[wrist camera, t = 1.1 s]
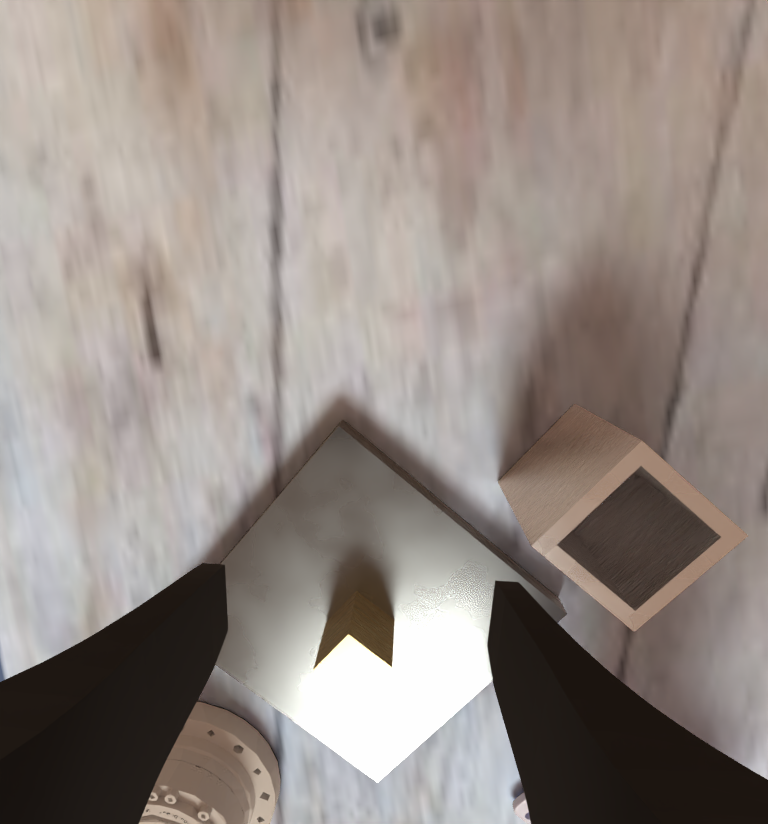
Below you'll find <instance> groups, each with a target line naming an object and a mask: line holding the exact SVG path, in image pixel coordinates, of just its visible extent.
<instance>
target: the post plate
mask: <svg viewBox="0 0 768 824" xmlns="http://www.w3.org/2000/svg"><path fill="white" fill-rule="evenodd" d="M220 564H222V565H225V574H226V594H227V614H228V632H227V634H226V637H225V640H224V643H223V646H222V648H221V651H220V654H219V656H218V659H217V661H216V664H215V665H217V666H218V667H220V668H221V669H222V670H224V671H225V672H226V673H228V674H229V675H231V676H232V677H233V678H235V679H236V680H237V681H239V682H240V683H241V684H243V685H244V686H246V687H247V688H248V689H250V690H251V691H252V692H254V693H255V694H257V695H258V696H259V697H261V698H262V699H263V700H265V701H266V702H268V703H269V704H270V705H272V706H273V707H274V708H276V709H277V710H279V711H280V712H281V713H283V714H284V715H285V716H287V717H288V718H289V719H291V720H292V721H294V722H295V723H296V724H298V725H299V726H300V727H302V728H303V729H305V730H306V731H307V732H309V733H310V734H311V735H313V736H314V737H316V738H317V739H318V740H320V741H321V742H322V743H324V744H325V745H327V746H328V747H329V748H331V749H332V750H333V751H335V752H336V753H338V754H339V755H340V756H342V757H343V758H344V759H346V760H347V761H348V762H350V763H351V764H353V765H354V766H355V767H357V768H358V769H359V770H361V771H362V772H364V773H365V774H366V775H368V776H369V777H370V778H372V779H373V780H375V781H376V782H377V783H378V782H379V781H380V780H381V779H382V778H383V777H385V776H386V775H387V774H388V773H389V772H390V771H391V770H392V769H394V768H395V767H396V766H397V765H398V764H399V763H400V762H401V761H402V760H404V759H405V758H406V757H407V756H408V755H409V754H410V753H411V752H413V751H414V750H415V749H416V748H417V747H418V746H419V745H420V744H422V743H423V742H424V741H425V740H426V739H427V738H428V737H429V736H431V735H432V734H433V733H434V732H435V731H436V730H437V729H438V728H440V727H441V726H442V725H443V724H444V723H445V722H446V721H447V720H449V719H450V718H451V717H452V716H453V715H454V714H455V713H456V712H458V711H459V710H460V709H461V708H462V707H463V706H464V705H465V704H466V703H468V702H469V701H470V700H471V699H472V698H473V697H474V696H475V695H477V694H478V693H479V692H480V691H481V690H482V689H483V688H484V687H486V686H487V685H488V684H489V683H490V682H491V681H492V680H493V678H492V673H491V667H490V661H489V654H488V648H487V642H488V634H489V626H490V618H491V610H492V602H493V595H494V587H495V581H511V582H519V583H520V584H521V585H522V586H523V587H524V588H525V589H526V590H527V591H528V592H529V593H530V595H531V596H532V597H533V598H534V599H535V600H536V601H537V602H538V603H539V604H540V605H541V606H542V607H543V608H544V610H545V611H546V612H547V613H548V614H549V615H550V616H551V617H552V618H553V619H554V620H555V621H556V622H559V621H560V620H561V619H562V618H563V617H564V616H565V615H566V614H567V613H566V611H565V609H564V607H563V605H562V603H561V601H560V599H559V598H558V597H557V596H556V595H554V594H553V593H552V592H551V591H550V590H548V589H547V588H546V587H545V586H544V585H542V584H541V583H540V582H539V581H537V580H536V579H535V578H534V577H533V576H531V575H530V574H529V573H528V572H527V571H525V570H524V569H523V568H522V567H521V566H519V565H518V564H517V563H516V562H514V561H513V560H512V559H511V558H510V557H508V556H507V555H506V554H505V553H504V552H502V551H501V550H500V549H499V548H497V547H496V546H495V545H494V544H493V543H491V542H490V541H489V540H488V539H487V538H485V537H484V536H483V535H482V534H481V533H479V532H478V531H477V530H476V529H474V528H473V527H472V526H471V525H470V524H468V523H467V522H466V521H465V520H464V519H462V518H461V517H460V516H459V515H458V514H456V513H455V512H454V511H453V510H451V509H450V508H449V507H448V506H447V505H445V504H444V503H443V502H442V501H441V500H439V499H438V498H437V497H436V496H435V495H433V494H432V493H431V492H430V491H428V490H427V489H426V488H425V487H424V486H422V485H421V484H420V483H419V482H418V481H416V480H415V479H414V478H413V477H412V476H410V475H409V474H408V473H407V472H405V471H404V470H403V469H402V468H401V467H399V466H398V465H397V464H396V463H395V462H393V461H392V460H391V459H390V458H388V457H387V456H386V455H385V454H384V453H382V452H381V451H380V450H379V449H378V448H376V447H375V446H374V445H373V444H372V443H370V442H369V441H368V440H367V439H365V438H364V437H363V436H362V435H361V434H359V433H358V432H357V431H356V430H355V429H353V428H352V427H351V426H350V425H349V424H347V423H346V422H345V421H344V420H342V421H341V422H340V423H339V425H338V426H337V427H336V428H335V429H334V430H333V432H332V433H331V434H330V435H329V436H328V437H327V439H326V440H325V441H324V442H323V443H322V445H321V446H320V447H319V448H318V449H317V450H316V452H315V453H314V454H313V455H312V456H311V457H310V459H309V460H308V461H307V462H306V463H305V464H304V466H303V467H302V468H301V469H300V470H299V472H298V473H297V474H296V475H295V476H294V477H293V479H292V480H291V481H290V482H289V483H288V484H287V486H286V487H285V488H284V489H283V490H282V491H281V493H280V494H279V495H278V496H277V497H276V499H275V500H274V501H273V502H272V503H271V504H270V506H269V507H268V508H267V509H266V510H265V511H264V513H263V514H262V515H261V516H260V517H259V518H258V520H257V521H256V522H255V523H254V524H253V526H252V527H251V528H250V529H249V530H248V531H247V533H246V534H245V535H244V536H243V537H242V538H241V540H240V541H239V542H238V543H237V544H236V545H235V547H234V548H233V549H232V550H231V551H230V553H229V554H228V555H227V556H226V557H225V558H224V560H223V561H222V562H221V563H220Z"/></svg>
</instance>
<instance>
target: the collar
mask: <svg viewBox="0 0 768 824" xmlns="http://www.w3.org/2000/svg"><path fill="white" fill-rule="evenodd" d="M632 474H633V475H632ZM631 475H632V476H631ZM629 476H631V477H630V478H628V477H629ZM627 478H628V479H627ZM626 479H627V480H626ZM625 480H626V481H625ZM624 481H625V482H624ZM623 482H624V483H623ZM498 483H499V485H500V487H501V489H502V491H503V493H504V495H505V497H506V499H507V501H508V502H509V504H510V506H511V508H512V510H513V512H514V514H515V516H516V518H517V520H518V522H519V523H520V525H521V527H522V529H523V531H524V533H525V535H526V537H527V539H528V541H529V543H530V545H531V546H532V547H533V548H534V549H535V550H537V551H538V552H539V553H540V554H541V555H543V556H544V557H545V558H546V559H547V560H549V561H550V562H551V563H552V564H553V565H555V566H556V567H557V568H558V569H559V570H561V571H562V572H563V573H564V574H565V575H567V576H568V577H569V578H570V579H571V580H573V581H574V582H575V583H576V584H577V585H579V586H580V587H581V588H582V589H583V590H585V591H586V592H587V593H588V594H589V595H590V596H592V597H593V598H594V599H595V600H596V601H598V602H599V603H600V604H601V605H602V606H604V607H605V608H606V609H607V610H608V611H610V612H611V613H612V614H613V615H614V616H616V617H617V618H618V619H619V620H620V621H622V622H623V623H624V624H625V625H626V626H628V627H629V628H630V629H631V630H632V631H634V632H635V631H636V630H637V629H639V628H640V627H641V626H642V625H643V624H644V623H646V622H647V621H648V620H649V619H650V618H652V617H653V616H654V615H655V614H656V613H658V612H659V611H660V610H661V609H662V608H663V607H665V606H666V605H667V604H668V603H669V602H671V601H672V600H673V599H674V598H675V597H676V596H678V595H679V594H680V593H681V592H682V591H684V590H685V589H686V588H687V587H688V586H689V585H691V584H692V583H693V582H694V581H695V580H697V579H698V578H699V577H700V576H701V575H703V574H704V573H705V572H706V571H707V570H708V569H710V568H711V567H712V566H713V565H714V564H716V563H717V562H718V561H719V560H720V559H721V558H723V557H724V556H725V555H726V554H727V553H729V552H730V551H731V550H732V549H733V548H735V547H736V546H737V545H738V544H739V543H740V542H742V541H743V540H744V539H745V538H746V537H748V535H747V534H746V533H745V532H743V531H742V530H741V529H740V528H739V527H738V526H737V525H736V524H735V523H733V522H732V521H731V520H730V519H729V518H728V517H727V516H726V515H724V514H723V513H722V512H721V511H720V510H719V509H718V508H717V507H716V506H714V505H713V504H712V503H711V502H710V501H709V500H708V499H707V498H706V497H704V496H703V495H702V494H701V493H700V492H699V491H698V490H697V489H695V488H694V487H693V486H692V485H691V484H690V483H689V482H688V481H687V480H685V479H684V478H683V477H682V476H681V475H680V474H679V473H678V472H677V471H675V470H674V469H673V468H672V467H671V466H670V465H669V464H668V463H666V462H665V461H664V460H663V459H662V458H661V457H660V456H659V455H658V454H656V453H655V452H654V451H653V450H652V449H651V448H650V447H649V446H648V445H646V444H645V443H644V442H643V441H642V440H640V439H638V438H636V437H635V436H633V435H631V434H629V433H627V432H625V431H624V430H622V429H620V428H618V427H616V426H615V425H613V424H611V423H609V422H607V421H605V420H604V419H602V418H600V417H598V416H596V415H595V414H593V413H591V412H589V411H587V410H585V409H584V408H582V407H580V406H578V405H576V404H574V405H573V406H572V407H571V408H570V409H569V410H568V411H567V412H566V413H565V414H564V415H563V416H562V417H561V418H560V419H559V420H558V421H557V422H556V423H555V424H554V425H553V426H552V427H551V428H550V429H549V430H548V431H547V432H546V433H545V434H544V435H543V436H542V437H541V438H540V439H539V440H538V441H537V442H536V443H535V444H534V445H533V446H532V447H531V448H530V449H529V450H528V451H527V452H526V453H525V454H524V455H523V456H522V457H521V458H520V460H519V461H518V462H517V463H516V464H515V465H514V466H513V467H512V468H511V469H510V470H509V471H508V472H507V473H506V474H505V475H504V476H503V477H502V478H501V479H500V480H499V481H498ZM622 483H623V484H622ZM621 484H622V485H621ZM620 485H621V486H620ZM619 486H620V487H619ZM618 487H619V488H618ZM617 488H618V489H617ZM616 489H617V490H616ZM615 490H616V491H615ZM613 491H615V492H614V493H612V492H613ZM611 493H612V494H611ZM610 494H611V495H610ZM609 495H610V496H609ZM608 496H609V497H608ZM607 497H608V498H607ZM606 498H607V499H606ZM605 499H606V500H605ZM604 500H605V501H604ZM603 501H604V502H603ZM602 502H603V503H602ZM601 503H602V504H601ZM600 504H601V505H600ZM599 505H600V506H599ZM598 506H599V507H598ZM596 507H598V508H596ZM595 508H596V509H595ZM594 509H595V510H594ZM593 510H594V511H593ZM592 511H593V512H592ZM591 512H592V513H591ZM590 513H591V514H590ZM589 514H590V515H589ZM588 515H589V516H588ZM587 516H588V517H587ZM586 517H587V518H586ZM585 518H586V519H585ZM584 519H585V520H584ZM583 520H584V521H583ZM582 521H583V522H582ZM580 522H582V523H581V524H579V523H580ZM578 524H579V525H578ZM577 525H578V526H577ZM576 526H577V527H576ZM575 527H576V528H575ZM574 528H575V529H574ZM573 529H574V530H573Z"/></svg>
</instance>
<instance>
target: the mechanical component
mask: <svg viewBox="0 0 768 824" xmlns="http://www.w3.org/2000/svg"><path fill="white" fill-rule="evenodd" d="M280 784H281V781H280V774H279V767H278V761H277V760H276V758H275V756H274V754H273V752H272V750H271V748H270V746H269V744H268V743H267V742H266V740H265V739H264V738H263V737H262V736H261V734H260V733H259V732H258V731H257V730H256V729H255V728H253V727H252V726H251V725H250V724H249V723H247V722H246V721H245V720H244V719H242V718H240V717H238V716H236V715H235V714H233V713H231V712H229V711H227V710H225V709H222V708H218V707H215V706H212V705H209V704H206V703H203V702H196V704H195V706H194V708H193V710H192V712H191V714H190V715H189V717H188V719H187V721H186V723H185V725H184V727H183V729H182V731H181V733H180V735H179V737H178V739H177V740H176V742H175V744H174V746H173V748H172V750H171V752H170V754H169V756H168V758H167V760H166V762H165V764H164V766H163V768H162V770H161V772H160V775H159V777H158V779H157V781H156V783H155V786H154V788H153V790H152V793H151V795H150V798H149V800H148V802H147V805H146V807H145V810H144V812H143V814H142V817H141V819H140V822H139V824H270V822H271V819H272V815H273V812H274V809H275V806H276V803H277V800H278V797H279V792H280Z"/></svg>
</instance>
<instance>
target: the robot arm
mask: <svg viewBox="0 0 768 824" xmlns="http://www.w3.org/2000/svg"><path fill="white" fill-rule="evenodd" d="M227 632H228V614H227V594H226V574H225V565H222V564H205V563H202V564H201V565H199V566H197V567H196V568H194V569H193V570H191V571H190V572H188V573H187V574H185V575H184V576H183V577H181V578H180V579H178V580H177V581H175V582H174V583H172V584H171V585H170V586H168V587H167V588H165V589H164V590H162V591H161V592H159V593H158V594H156V595H155V596H154V597H152V598H151V599H149V600H148V601H146V602H145V603H143V604H142V605H140V606H139V607H137V608H136V609H134V610H133V611H131V612H129V613H128V614H126V615H125V616H123V617H121V618H120V619H118V620H117V621H115V622H113V623H112V624H110V625H109V626H107V627H105V628H104V629H102V630H101V631H99V632H97V633H96V634H94V635H92V636H91V637H89V638H87V639H85V640H84V641H82V642H80V643H78V644H76V645H75V646H73V647H71V648H69V649H67V650H65V651H63V652H62V653H60V654H58V655H56V656H54V657H52V658H50V659H48V660H46V661H44V662H42V663H40V664H38V665H36V666H34V667H32V668H30V669H27V670H25V671H23V672H21V673H19V674H17V675H15V676H12V677H10V678H8V679H6V680H4V681H2V682H0V824H139V822H140V819H141V817H142V814H143V812H144V810H145V807H146V805H147V802H148V800H149V798H150V795H151V793H152V790H153V788H154V786H155V783H156V781H157V779H158V777H159V775H160V772H161V770H162V768H163V766H164V764H165V762H166V760H167V758H168V756H169V754H170V752H171V750H172V748H173V746H174V744H175V742H176V740H177V739H178V737H179V735H180V733H181V731H182V729H183V727H184V725H185V723H186V721H187V719H188V717H189V715H190V714H191V712H192V710H193V708H194V706H195V704H196V702H197V700H198V698H199V696H200V694H201V692H202V690H203V688H204V686H205V685H206V683H207V681H208V679H209V677H210V675H211V673H212V671H213V669H214V666H215V664H216V661H217V659H218V656H219V654H220V651H221V648H222V646H223V643H224V640H225V637H226V634H227ZM487 648H488V654H489V661H490V667H491V673H492V678H493V684H494V688H495V692H496V695H497V699H498V702H499V706H500V709H501V713H502V716H503V720H504V723H505V727H506V730H507V734H508V737H509V740H510V744H511V747H512V751H513V754H514V758H515V761H516V765H517V768H518V771H519V775H520V778H521V782H522V786H523V790H524V792H523V793H522V794H521V795H520V796H518V797H517V798H516V799H515V800H514V801H513V809H514V813H515V814H516V815H517V816H518V817H520V818H521V819H522V820H524V821H525V822H526V823H528V824H768V780H767V779H765V778H764V777H762V776H760V775H758V774H757V773H755V772H753V771H752V770H750V769H748V768H747V767H745V766H743V765H742V764H740V763H738V762H737V761H735V760H733V759H732V758H730V757H728V756H727V755H725V754H723V753H722V752H720V751H718V750H717V749H715V748H714V747H712V746H710V745H709V744H707V743H706V742H704V741H703V740H701V739H699V738H698V737H696V736H695V735H693V734H692V733H690V732H689V731H687V730H686V729H685V728H683V727H682V726H680V725H679V724H677V723H676V722H674V721H673V720H672V719H670V718H669V717H667V716H666V715H664V714H663V713H661V712H660V711H659V710H657V709H656V708H655V707H653V706H652V705H651V704H649V703H648V702H646V701H645V700H644V699H643V698H641V697H640V696H639V695H637V694H636V693H635V692H634V691H632V690H631V689H630V688H629V687H627V686H626V685H625V684H624V683H622V682H621V681H620V680H619V679H617V678H616V677H615V676H614V675H613V674H611V673H610V672H609V671H608V670H607V669H605V668H604V667H603V666H602V665H601V664H600V663H599V662H598V661H597V660H595V659H594V658H593V657H592V656H591V655H590V654H589V653H588V652H587V651H586V650H584V649H583V648H582V647H581V646H580V645H579V644H578V643H577V642H576V641H575V640H574V639H573V638H572V637H571V636H570V635H569V634H568V633H567V632H566V631H565V630H564V629H563V628H562V627H561V626H560V625H559V624H558V623H557V622H556V621H555V620H554V619H553V618H552V617H551V616H550V615H549V614H548V613H547V612H546V611H545V610H544V608H543V607H542V606H541V605H540V604H539V603H538V602H537V601H536V600H535V599H534V598H533V597H532V596H531V595H530V593H529V592H528V591H527V590H526V589H525V588H524V587H523V586H522V585H521V584H520V583H519V582H511V581H495V587H494V595H493V602H492V610H491V618H490V626H489V634H488V642H487Z"/></svg>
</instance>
